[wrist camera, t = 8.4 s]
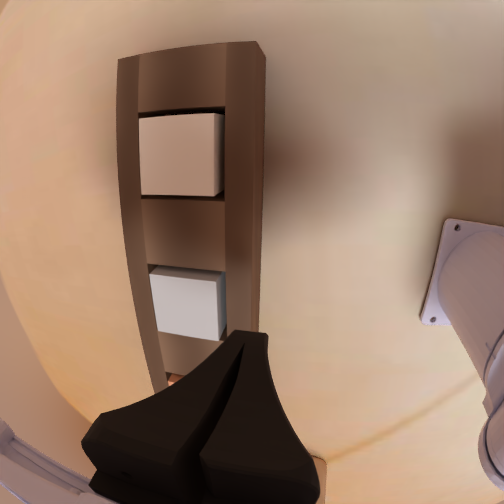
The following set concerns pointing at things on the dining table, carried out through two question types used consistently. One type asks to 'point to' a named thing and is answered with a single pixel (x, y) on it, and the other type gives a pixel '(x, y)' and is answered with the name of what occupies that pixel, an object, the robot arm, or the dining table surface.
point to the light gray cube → (189, 301)
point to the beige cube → (182, 154)
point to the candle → (321, 478)
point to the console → (187, 206)
